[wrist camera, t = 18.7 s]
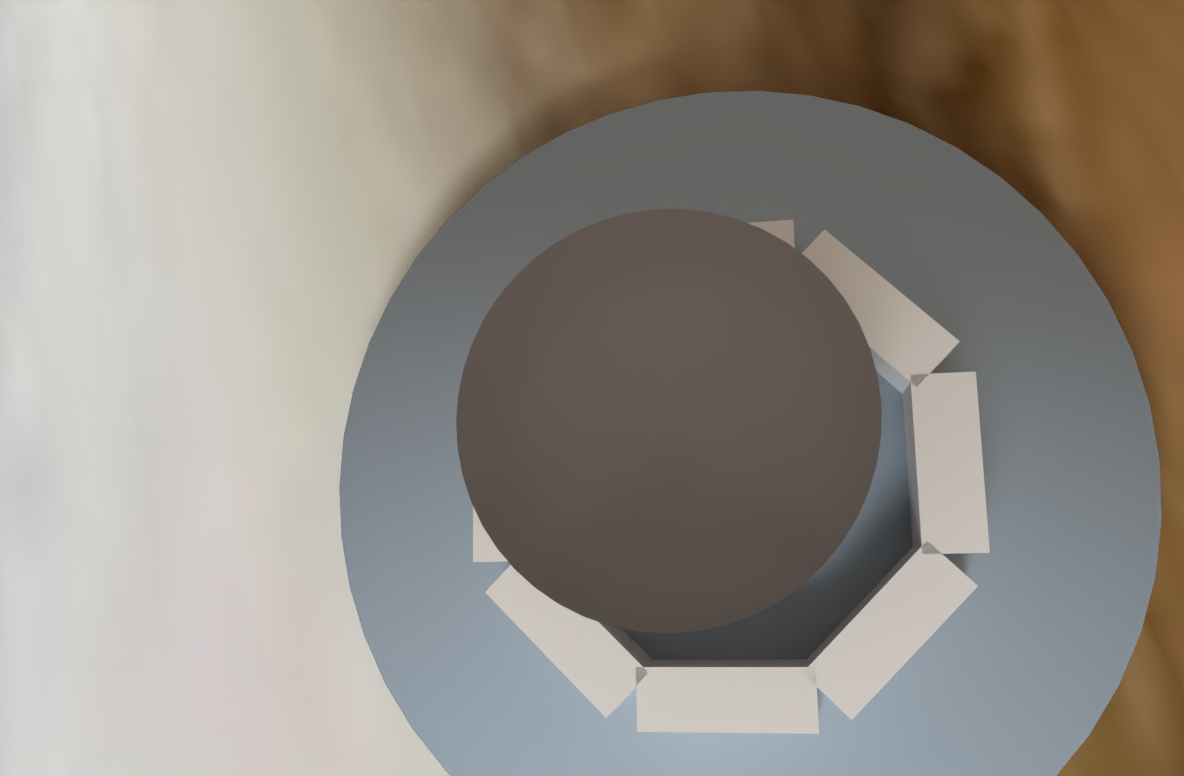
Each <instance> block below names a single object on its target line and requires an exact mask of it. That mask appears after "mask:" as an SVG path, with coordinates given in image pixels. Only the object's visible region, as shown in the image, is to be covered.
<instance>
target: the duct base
mask: <svg viewBox="0 0 1184 776" xmlns="http://www.w3.org/2000/svg"><path fill="white" fill-rule="evenodd" d="M654 209H687V210H696V211H705V212H711V213H715V214H720V215H724V216H728V217H732V218H736V219H738V220H741V221H744V222H746V223H749V224H751V225H754V226H756V227H759V228H761V229H763V230H765V231H767V232H769V233H771V234H772V235H774V236H776V237H778V238H780V239H781V240H783V241H785V242H787V243H788V244H789V245H791V246H792V247H793V248H795V249H796V250H797V251H799V252H800V253H802V254H803V255H804V256H806V257H807V258H808V259H809V260H810V261H811V262H812V263H813V264H814V265H815V266H817V267H818V268H819V269H820V270H821V271H822V272H823V273H824V274H825V275H826V276H827V277H828V278H829V280H830V281H831V282H832V283H833V285H834V286H835V287H836V288H837V290H838V291H839V292H840V293H841V295H842V296H843V297H844V298H845V300H846V302H847V303H848V305H849V307H850V308H851V310H852V312H853V313H854V315H855V317H856V318H857V320H858V322H859V324H860V326H861V328H862V331H863V333H864V335H865V338H866V340H867V342H868V345H869V347H870V350H871V353H872V357H873V361H874V364H875V368H876V372H877V375H878V381H879V389H880V397H881V405H882V421H881V440H880V447H879V454H878V461H877V466H876V469H875V472H874V476H873V479H872V483H871V486H870V490H869V493H868V495H867V497H866V499H865V502H864V504H863V506H862V508H861V511H860V513H859V515H858V517H857V519H856V521H855V522H854V524H853V526H852V527H851V529H850V530H849V532H848V534H847V535H846V537H845V538H844V540H843V542H842V543H841V544H840V546H839V547H838V548H837V549H836V551H835V552H834V553H833V554H832V555H831V557H830V558H829V559H828V560H827V561H826V563H825V564H824V565H823V566H822V567H821V568H820V569H819V570H818V571H817V572H816V573H814V574H813V575H812V576H811V577H810V578H809V579H808V580H807V581H806V582H805V583H804V584H803V585H801V586H800V587H799V588H797V589H796V590H794V591H793V592H791V593H790V594H789V595H787V596H786V597H784V598H783V599H781V600H780V601H779V602H777V603H775V604H773V605H771V606H769V607H767V608H765V609H763V610H762V611H760V612H758V613H756V614H754V615H752V616H749V617H746V618H744V619H741V620H738V621H735V622H732V623H729V624H727V625H724V626H719V627H714V628H709V629H704V630H699V631H693V632H679V633H654V632H639V631H633V630H628V629H623V628H618V627H614V626H609V625H606V624H603V623H601V622H598V621H595V620H592V619H589V618H586V617H583V616H581V615H579V614H577V613H575V612H573V611H571V610H570V609H568V608H566V607H564V606H562V605H560V604H558V603H556V602H555V601H553V600H552V599H551V598H549V597H548V596H546V595H545V594H543V593H542V592H540V591H539V590H537V589H536V588H535V587H534V586H533V585H531V584H530V583H529V582H528V581H527V580H526V579H525V578H524V577H523V576H522V575H520V574H519V573H518V572H517V571H516V570H515V569H514V568H513V567H512V565H511V564H510V563H509V562H508V561H507V560H506V558H505V557H504V556H503V555H502V554H501V553H500V551H499V550H498V549H497V548H496V546H495V544H494V543H493V541H492V540H491V538H490V537H489V535H488V534H487V532H486V530H485V529H484V527H483V526H482V524H481V522H480V520H479V517H478V515H477V513H476V511H475V509H474V507H473V505H472V503H471V500H470V497H469V494H468V491H467V488H466V485H465V482H464V478H463V475H462V470H461V464H460V459H459V454H458V446H457V429H456V417H457V403H458V393H459V388H460V383H461V378H462V373H463V369H464V366H465V363H466V360H467V357H468V354H469V351H470V347H471V344H472V342H473V340H474V338H475V336H476V334H477V332H478V330H479V328H480V326H481V323H482V321H483V319H484V318H485V316H486V315H487V313H488V312H489V310H490V308H491V307H492V305H493V304H494V302H495V301H496V299H497V298H498V296H499V295H500V294H501V293H502V292H503V290H504V289H505V288H506V287H507V285H508V284H509V283H510V282H511V281H512V279H513V278H514V277H515V276H516V275H517V274H518V273H519V272H520V271H521V270H523V269H524V268H525V267H526V266H527V265H528V264H529V263H530V262H531V261H532V260H533V259H534V258H536V257H537V256H538V255H540V254H541V253H542V252H544V251H545V250H547V249H548V248H549V247H551V246H552V245H553V244H555V243H556V242H558V241H560V240H562V239H563V238H565V237H567V236H569V235H571V234H572V233H574V232H576V231H578V230H580V229H582V228H585V227H587V226H590V225H592V224H595V223H597V222H600V221H602V220H605V219H609V218H612V217H616V216H620V215H624V214H627V213H633V212H640V211H647V210H654ZM340 509H341V533H342V542H343V548H344V554H345V560H346V566H347V572H348V578H349V584H350V589H351V592H352V596H353V599H354V602H355V606H356V609H357V612H358V616H359V619H360V623H361V626H362V629H363V633H364V636H365V638H366V641H367V643H368V645H369V647H370V650H371V652H372V654H373V657H374V659H375V661H376V663H377V666H378V668H379V670H380V672H381V675H382V677H383V679H384V681H385V684H386V685H387V687H388V689H389V690H390V692H391V694H392V695H393V697H394V699H395V700H396V702H397V704H398V705H399V707H400V709H401V710H402V712H403V714H404V715H405V717H406V719H407V720H408V722H409V724H410V725H411V727H412V729H413V730H414V731H415V732H416V734H417V735H418V736H419V738H420V739H421V740H422V741H423V743H424V744H425V745H426V746H427V748H428V749H429V750H430V751H431V753H432V754H433V755H434V757H435V758H436V759H437V760H438V762H439V763H440V764H441V765H442V767H443V768H444V769H445V770H446V771H447V772H448V773H449V774H450V775H451V776H1056V775H1057V774H1058V773H1059V771H1060V770H1061V769H1062V768H1063V767H1064V765H1065V764H1066V763H1067V762H1068V760H1069V759H1070V758H1071V757H1072V756H1073V754H1074V753H1075V752H1076V751H1077V749H1078V748H1079V747H1080V746H1081V745H1082V743H1083V742H1084V741H1085V740H1086V738H1087V737H1088V736H1089V734H1090V733H1091V731H1092V729H1093V728H1094V726H1095V724H1096V723H1097V721H1098V719H1099V718H1100V716H1101V714H1102V713H1103V711H1104V709H1105V708H1106V706H1107V704H1108V703H1109V701H1110V699H1111V698H1112V696H1113V694H1114V693H1115V691H1116V689H1117V688H1118V686H1119V684H1120V681H1121V679H1122V676H1123V674H1124V672H1125V669H1126V667H1127V665H1128V662H1129V660H1130V657H1131V655H1132V653H1133V650H1134V648H1135V645H1136V643H1137V641H1138V638H1139V636H1140V633H1141V630H1142V626H1143V623H1144V619H1145V615H1146V611H1147V607H1148V603H1149V599H1150V595H1151V591H1152V588H1153V584H1154V580H1155V576H1156V566H1157V557H1158V548H1159V539H1160V530H1161V521H1162V512H1161V482H1160V460H1159V454H1158V448H1157V442H1156V437H1155V431H1154V425H1153V420H1152V414H1151V408H1150V404H1149V401H1148V397H1147V394H1146V391H1145V388H1144V385H1143V382H1142V379H1141V376H1140V373H1139V370H1138V366H1137V363H1136V360H1135V357H1134V354H1133V351H1132V349H1131V347H1130V345H1129V343H1128V341H1127V339H1126V337H1125V334H1124V332H1123V330H1122V328H1121V326H1120V324H1119V322H1118V320H1117V318H1116V316H1115V314H1114V312H1113V310H1112V307H1111V305H1110V303H1109V301H1108V300H1107V298H1106V297H1105V295H1104V294H1103V292H1102V291H1101V289H1100V288H1099V286H1098V285H1097V283H1096V281H1095V280H1094V278H1093V277H1092V275H1091V274H1090V272H1089V271H1088V269H1087V268H1086V266H1085V265H1084V263H1083V262H1082V260H1081V259H1080V257H1079V256H1078V254H1077V253H1076V252H1075V251H1074V250H1073V249H1072V247H1071V246H1070V245H1069V244H1068V243H1067V242H1066V241H1065V239H1064V238H1063V237H1062V236H1061V235H1060V234H1059V233H1058V231H1057V230H1056V229H1055V228H1054V227H1053V226H1052V224H1051V223H1050V222H1049V221H1048V220H1047V219H1046V218H1045V216H1044V215H1043V214H1042V213H1041V212H1040V211H1039V210H1037V209H1036V208H1035V207H1034V206H1033V205H1032V204H1031V203H1030V202H1028V201H1027V200H1026V199H1025V198H1024V197H1023V196H1022V195H1020V194H1019V193H1018V192H1017V191H1016V190H1015V189H1014V188H1013V187H1011V186H1010V185H1009V184H1008V183H1007V182H1006V181H1005V180H1003V179H1002V178H1001V177H1000V176H998V175H997V174H995V173H994V172H992V171H991V170H989V169H988V168H986V167H985V166H983V165H982V164H980V163H979V162H978V161H976V160H975V159H973V158H972V157H970V156H969V155H967V154H966V153H964V152H963V151H961V150H960V149H958V148H957V147H955V146H953V145H951V144H949V143H947V142H945V141H943V140H941V139H939V138H937V137H935V136H933V135H931V134H929V133H927V132H925V131H923V130H921V129H919V128H917V127H915V126H913V125H911V124H909V123H906V122H903V121H900V120H898V119H895V118H892V117H889V116H886V115H883V114H881V113H878V112H875V111H872V110H869V109H866V108H864V107H861V106H857V105H852V104H848V103H843V102H838V101H834V100H829V99H824V98H820V97H815V96H811V95H802V94H790V93H779V92H768V91H731V92H706V93H700V94H694V95H687V96H681V97H674V98H668V99H662V100H657V101H653V102H650V103H646V104H643V105H639V106H635V107H632V108H628V109H625V110H621V111H618V112H614V113H611V114H608V115H606V116H604V117H601V118H599V119H596V120H594V121H592V122H589V123H587V124H585V125H582V126H580V127H577V128H575V129H573V130H570V131H568V132H566V133H564V134H562V135H560V136H558V137H557V138H555V139H553V140H551V141H550V142H548V143H546V144H544V145H543V146H541V147H539V148H537V149H536V150H534V151H532V152H530V153H529V154H527V155H525V156H523V157H522V158H520V159H519V160H518V161H516V162H515V163H514V164H512V165H511V166H510V167H508V168H507V169H506V170H504V171H503V172H502V173H500V174H499V175H498V176H496V177H495V178H494V179H492V180H491V181H490V182H488V183H487V184H486V185H484V186H483V187H482V188H481V189H480V190H479V191H478V192H477V193H475V194H474V195H473V196H472V197H471V198H470V199H469V200H468V201H467V202H466V203H465V204H464V205H463V206H462V207H461V208H460V209H459V210H458V211H457V212H456V213H455V214H453V215H452V216H451V217H450V218H449V219H448V220H447V221H446V223H445V224H444V225H443V226H442V227H441V229H440V230H439V231H438V232H437V234H436V235H435V236H434V237H433V238H432V240H431V241H430V242H429V243H428V245H427V246H426V247H425V248H424V249H423V251H422V252H421V253H420V254H419V255H418V257H417V258H416V259H415V261H414V263H413V264H412V266H411V267H410V269H409V270H408V272H407V274H406V275H405V277H404V278H403V280H402V281H401V283H400V285H399V286H398V288H397V289H396V291H395V292H394V294H393V296H392V297H391V299H390V301H389V303H388V305H387V307H386V309H385V311H384V313H383V315H382V317H381V319H380V322H379V324H378V326H377V328H376V330H375V332H374V334H373V336H372V338H371V340H370V342H369V345H368V348H367V351H366V354H365V357H364V360H363V363H362V366H361V369H360V372H359V375H358V378H357V381H356V384H355V387H354V390H353V395H352V399H351V404H350V409H349V414H348V419H347V424H346V429H345V433H344V439H343V451H342V464H341V476H340Z"/></svg>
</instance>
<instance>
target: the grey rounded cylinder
mask: <svg viewBox="0 0 1184 776" xmlns="http://www.w3.org/2000/svg"><path fill="white" fill-rule="evenodd" d="M881 421H882V405H881V397H880V389H879V381H878V375H877V372H876V368H875V364H874V361H873V357H872V353H871V350H870V347H869V345H868V342H867V340H866V338H865V335H864V333H863V331H862V328H861V326H860V324H859V322H858V320H857V318H856V317H855V315H854V313H853V312H852V310H851V308H850V307H849V305H848V303H847V302H846V300H845V298H844V297H843V296H842V295H841V293H840V292H839V291H838V290H837V288H836V287H835V286H834V285H833V283H832V282H831V281H830V280H829V278H828V277H827V276H826V275H825V274H824V273H823V272H822V271H821V270H820V269H819V268H818V267H817V266H815V265H814V264H813V263H812V262H811V261H810V260H809V259H808V258H807V257H806V256H804V255H803V254H802V253H800V252H799V251H797V250H796V249H795V248H793V247H792V246H791V245H789V244H788V243H787V242H785V241H783V240H781V239H780V238H778V237H776V236H774V235H772V234H771V233H769V232H767V231H765V230H763V229H761V228H759V227H756V226H754V225H751V224H749V223H746V222H744V221H741V220H738V219H736V218H732V217H728V216H724V215H720V214H715V213H711V212H705V211H696V210H687V209H654V210H647V211H640V212H633V213H627V214H624V215H620V216H616V217H612V218H609V219H605V220H602V221H600V222H597V223H595V224H592V225H590V226H587V227H585V228H582V229H580V230H578V231H576V232H574V233H572V234H571V235H569V236H567V237H565V238H563V239H562V240H560V241H558V242H556V243H555V244H553V245H552V246H551V247H549V248H548V249H547V250H545V251H544V252H542V253H541V254H540V255H538V256H537V257H536V258H534V259H533V260H532V261H531V262H530V263H529V264H528V265H527V266H526V267H525V268H524V269H523V270H521V271H520V272H519V273H518V274H517V275H516V276H515V277H514V278H513V279H512V281H511V282H510V283H509V284H508V285H507V287H506V288H505V289H504V290H503V292H502V293H501V294H500V295H499V296H498V298H497V299H496V301H495V302H494V304H493V305H492V307H491V308H490V310H489V312H488V313H487V315H486V316H485V318H484V319H483V321H482V323H481V326H480V328H479V330H478V332H477V334H476V336H475V338H474V340H473V342H472V344H471V347H470V351H469V354H468V357H467V360H466V363H465V366H464V369H463V373H462V378H461V383H460V388H459V393H458V403H457V417H456V429H457V446H458V454H459V459H460V464H461V470H462V475H463V478H464V482H465V485H466V488H467V491H468V494H469V497H470V500H471V503H472V505H473V507H474V509H475V511H476V513H477V515H478V517H479V520H480V522H481V524H482V526H483V527H484V529H485V530H486V532H487V534H488V535H489V537H490V538H491V540H492V541H493V543H494V544H495V546H496V548H497V549H498V550H499V551H500V553H501V554H502V555H503V556H504V557H505V558H506V560H507V561H508V562H509V563H510V564H511V565H512V567H513V568H514V569H515V570H516V571H517V572H518V573H519V574H520V575H522V576H523V577H524V578H525V579H526V580H527V581H528V582H529V583H530V584H531V585H533V586H534V587H535V588H536V589H537V590H539V591H540V592H542V593H543V594H545V595H546V596H548V597H549V598H551V599H552V600H553V601H555V602H556V603H558V604H560V605H562V606H564V607H566V608H568V609H570V610H571V611H573V612H575V613H577V614H579V615H581V616H583V617H586V618H589V619H592V620H595V621H598V622H601V623H603V624H606V625H609V626H614V627H618V628H623V629H628V630H633V631H639V632H654V633H679V632H693V631H699V630H704V629H709V628H714V627H719V626H724V625H727V624H729V623H732V622H735V621H738V620H741V619H744V618H746V617H749V616H752V615H754V614H756V613H758V612H760V611H762V610H763V609H765V608H767V607H769V606H771V605H773V604H775V603H777V602H779V601H780V600H781V599H783V598H784V597H786V596H787V595H789V594H790V593H791V592H793V591H794V590H796V589H797V588H799V587H800V586H801V585H803V584H804V583H805V582H806V581H807V580H808V579H809V578H810V577H811V576H812V575H813V574H814V573H816V572H817V571H818V570H819V569H820V568H821V567H822V566H823V565H824V564H825V563H826V561H827V560H828V559H829V558H830V557H831V555H832V554H833V553H834V552H835V551H836V549H837V548H838V547H839V546H840V544H841V543H842V542H843V540H844V538H845V537H846V535H847V534H848V532H849V530H850V529H851V527H852V526H853V524H854V522H855V521H856V519H857V517H858V515H859V513H860V511H861V508H862V506H863V504H864V502H865V499H866V497H867V495H868V493H869V490H870V486H871V483H872V479H873V476H874V472H875V469H876V466H877V461H878V454H879V447H880V440H881Z"/></svg>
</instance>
